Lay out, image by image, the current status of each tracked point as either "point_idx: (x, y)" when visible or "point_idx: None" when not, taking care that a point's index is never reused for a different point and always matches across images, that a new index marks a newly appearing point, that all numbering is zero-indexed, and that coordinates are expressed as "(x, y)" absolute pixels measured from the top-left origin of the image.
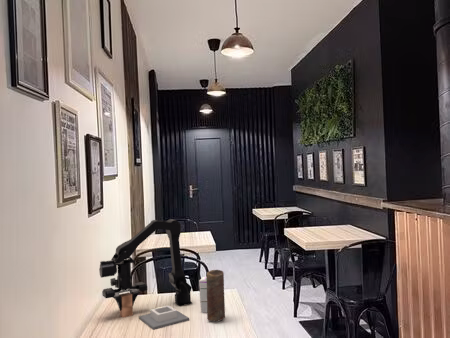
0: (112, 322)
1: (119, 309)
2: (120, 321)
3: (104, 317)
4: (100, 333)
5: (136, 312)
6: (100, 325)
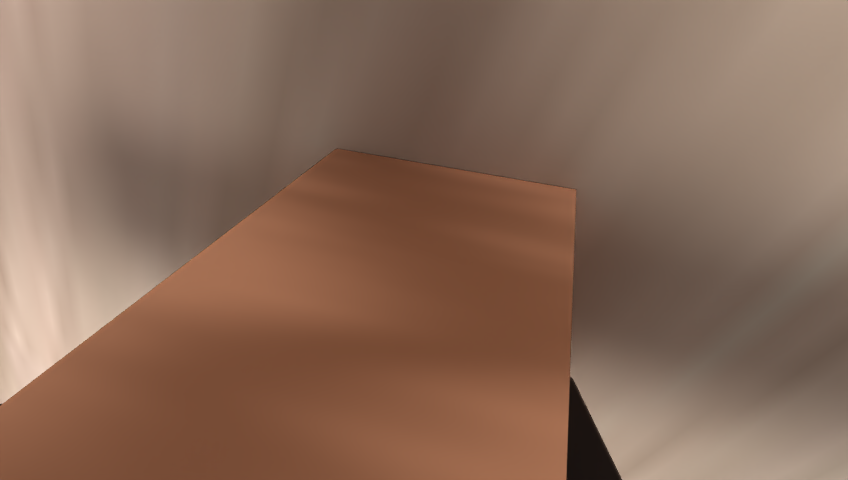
0: None
1: (268, 203)
2: None
3: (49, 48)
4: None
5: (695, 306)
6: (39, 322)
